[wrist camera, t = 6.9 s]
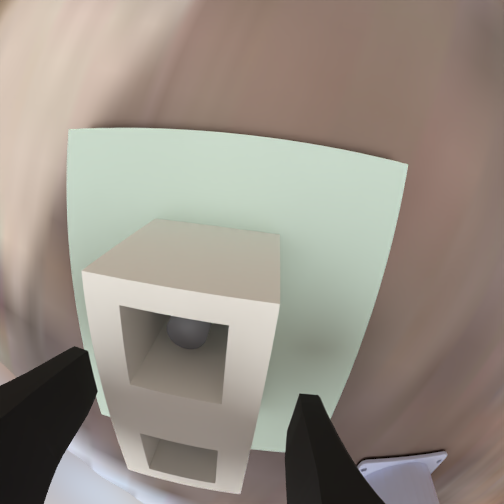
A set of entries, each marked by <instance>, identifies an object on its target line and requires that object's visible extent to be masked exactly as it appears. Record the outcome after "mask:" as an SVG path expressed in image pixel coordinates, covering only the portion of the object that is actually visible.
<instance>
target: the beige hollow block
mask: <svg viewBox="0 0 504 504" xmlns="http://www.w3.org/2000/svg"><path fill="white" fill-rule="evenodd" d="M81 272H82V281H83V289H84V297H85V304H86V310H87V317H88V323H89V329H90V334H91V339H92V345H93V350H94V354H95V359H96V364H97V368H98V372H99V376H100V380H101V384H102V388H103V392H104V396H105V400H106V403H107V407H108V410H109V414H110V417H111V420H112V424H113V427H114V430H115V433H116V436H117V439H118V442H119V445H120V448H121V451H122V453H123V456H124V459H125V462H126V464H127V467H128V469H129V470H132V471H135V472H138V473H142V474H145V475H149V476H152V477H156V478H160V479H163V480H167V481H171V482H176V483H180V484H184V485H189V486H194V487H199V488H204V489H210V490H215V491H222V492H228V493H235V494H240V493H241V489H242V485H243V480H244V476H245V472H246V468H247V464H248V459H249V455H250V451H251V446H252V442H253V437H254V433H255V428H256V424H257V419H258V414H259V410H260V405H261V400H262V395H263V391H264V386H265V381H266V376H267V371H268V366H269V361H270V356H271V351H272V346H273V340H274V335H275V330H276V324H277V319H278V314H279V308H280V235H279V234H272V233H265V232H258V231H250V230H243V229H235V228H227V227H220V226H212V225H204V224H196V223H188V222H180V221H172V220H163V219H154V220H152V221H151V222H149V223H148V224H146V225H145V226H143V227H142V228H140V229H139V230H138V231H136V232H135V233H133V234H132V235H130V236H129V237H127V238H126V239H125V240H123V241H122V242H120V243H119V244H117V245H116V246H115V247H113V248H112V249H110V250H109V251H108V252H106V253H105V254H103V255H102V256H101V257H99V258H98V259H97V260H95V261H94V262H92V263H91V264H90V265H88V266H87V267H86V268H84V269H83V270H82V271H81ZM171 316H176V317H181V318H187V319H192V320H198V321H204V322H210V323H212V325H211V328H210V331H209V334H208V336H207V339H206V342H205V343H204V344H203V345H202V346H201V347H199V348H197V349H185V348H182V347H179V346H178V345H176V344H175V343H174V342H172V340H171V339H170V338H169V336H168V334H167V324H168V322H169V320H170V318H171Z"/></svg>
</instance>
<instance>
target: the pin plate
mask: <svg viewBox="0 0 504 504" xmlns="http://www.w3.org/2000/svg"><path fill="white" fill-rule="evenodd" d="M407 168H408V164H404V163H401V162H397V161H393V160H388V159H384V158H380V157H376V156H371V155H367V154H362V153H357V152H352V151H347V150H342V149H337V148H332V147H326V146H321V145H315V144H309V143H303V142H297V141H290V140H283V139H276V138H269V137H261V136H252V135H243V134H234V133H223V132H211V131H198V130H182V129H159V128H86V129H69V133H68V149H67V221H68V238H69V251H70V262H71V271H72V280H73V287H74V295H75V301H76V308H77V314H78V320H79V325H80V330H81V336H82V341H83V345H84V350H87V351H88V352H89V357H90V362H91V366H92V370H93V374H94V378H95V382H96V386H97V390H98V392H97V395H96V397H97V401H98V404H99V407H100V411H101V414H103V415H106V416H109V417H110V414H109V410H108V407H107V403H106V400H105V396H104V392H103V388H102V384H101V380H100V376H99V372H98V368H97V364H96V359H95V354H94V350H93V345H92V339H91V334H90V329H89V323H88V317H87V310H86V304H85V297H84V289H83V281H82V272H81V271H82V270H83V269H84V268H86V267H87V266H88V265H90V264H91V263H92V262H94V261H95V260H97V259H98V258H99V257H101V256H102V255H103V254H105V253H106V252H108V251H109V250H110V249H112V248H113V247H115V246H116V245H117V244H119V243H120V242H122V241H123V240H125V239H126V238H127V237H129V236H130V235H132V234H133V233H135V232H136V231H138V230H139V229H140V228H142V227H143V226H145V225H146V224H148V223H149V222H151V221H152V220H154V219H163V220H172V221H180V222H188V223H196V224H204V225H212V226H220V227H227V228H235V229H243V230H250V231H258V232H265V233H272V234H279V235H280V308H279V314H278V319H277V324H276V330H275V335H274V340H273V346H272V351H271V356H270V361H269V366H268V371H267V376H266V381H265V386H264V391H263V395H262V400H261V405H260V410H259V414H258V419H257V424H256V428H255V433H254V437H253V442H252V446H251V449H256V450H265V451H275V452H285V450H286V436H287V429H288V426H289V423H290V421H291V418H292V415H293V412H294V409H295V405H296V402H297V399H298V396H299V393H301V394H313V395H319V397H320V398H321V400H322V403H323V405H324V407H325V409H326V412H327V414H328V416H329V418H330V419H331V416H332V414H333V412H334V410H335V407H336V405H337V403H338V401H339V398H340V396H341V394H342V391H343V389H344V386H345V384H346V382H347V379H348V377H349V374H350V372H351V369H352V367H353V364H354V361H355V359H356V356H357V353H358V351H359V348H360V345H361V343H362V340H363V337H364V334H365V331H366V328H367V325H368V322H369V319H370V316H371V313H372V310H373V307H374V304H375V301H376V298H377V294H378V291H379V288H380V284H381V281H382V278H383V274H384V271H385V267H386V263H387V260H388V256H389V252H390V248H391V244H392V240H393V236H394V232H395V228H396V223H397V219H398V215H399V210H400V205H401V200H402V195H403V190H404V185H405V180H406V174H407ZM211 325H212V323H210V322H204V321H198V320H192V319H187V318H181V317H176V316H171V318H170V320H169V322H168V324H167V334H168V336H169V338H170V339H171V340H172V342H174V343H175V344H176V345H178V346H179V347H182V348H185V349H197V348H199V347H201V346H202V345H203V344H204V343H205V342H206V339H207V336H208V334H209V331H210V328H211Z"/></svg>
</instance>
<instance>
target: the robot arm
mask: <svg viewBox="0 0 504 504" xmlns="http://www.w3.org/2000/svg"><path fill="white" fill-rule="evenodd" d="M97 392H98V390H97V386H96V382H95V378H94V374H93V370H92V366H91V362H90V357H89V352H88V351H87V350H84V349H81V348H78V347H75V346H74V347H72V348H70V349H68V350H67V351H65V352H63V353H61V354H59V355H57V356H56V357H54V358H52V359H50V360H49V361H47V362H45V363H43V364H42V365H40V366H38V367H36V368H34V369H33V370H31V371H29V372H27V373H25V374H23V375H21V376H19V377H17V378H15V379H13V380H12V381H9V382H7V383H5V384H3V385H1V386H0V504H44V501H45V498H46V495H47V492H48V489H49V486H50V483H51V480H52V478H53V476H54V473H55V470H56V468H57V466H58V464H59V462H60V460H61V458H62V456H63V454H64V453H65V451H66V449H67V448H68V446H69V444H70V443H71V441H72V439H73V438H74V436H75V435H76V433H77V431H78V430H79V428H80V426H81V425H82V423H83V421H84V420H85V418H86V416H87V415H88V413H89V411H90V409H91V406H92V404H93V402H94V399H95V397H96V395H97ZM446 457H447V452H446V451H442V452H436V453H430V454H423V455H415V456H406V457H396V458H385V459H369V460H364V461H362V462H360V463H359V465H358V466H356V465H355V463H354V462H353V460H352V458H351V457H350V455H349V453H348V452H347V450H346V448H345V447H344V445H343V443H342V441H341V439H340V438H339V436H338V434H337V432H336V430H335V428H334V426H333V424H332V422H331V420H330V418H329V416H328V414H327V412H326V409H325V407H324V405H323V403H322V400H321V398H320V397H319V395H313V394H301V393H299V396H298V399H297V402H296V405H295V409H294V412H293V415H292V418H291V421H290V423H289V426H288V429H287V436H286V450H285V470H286V491H287V504H439V501H438V498H437V494H436V491H435V487H434V484H433V481H432V478H431V473H432V472H433V471H434V470H435V469H436V468H437V467H438V466H439V465H440V464H441V462H442V461H443V460H444V459H445V458H446Z"/></svg>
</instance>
